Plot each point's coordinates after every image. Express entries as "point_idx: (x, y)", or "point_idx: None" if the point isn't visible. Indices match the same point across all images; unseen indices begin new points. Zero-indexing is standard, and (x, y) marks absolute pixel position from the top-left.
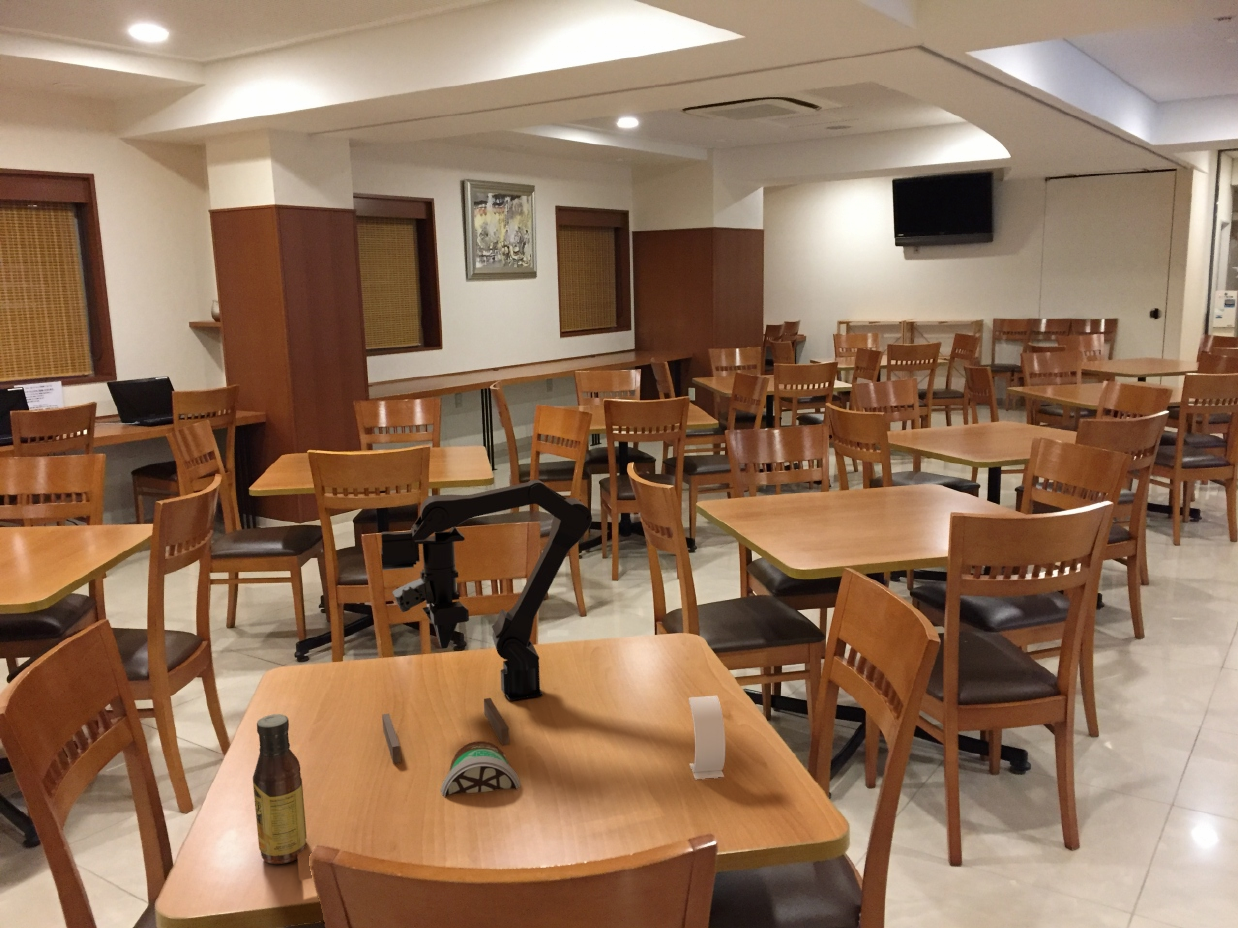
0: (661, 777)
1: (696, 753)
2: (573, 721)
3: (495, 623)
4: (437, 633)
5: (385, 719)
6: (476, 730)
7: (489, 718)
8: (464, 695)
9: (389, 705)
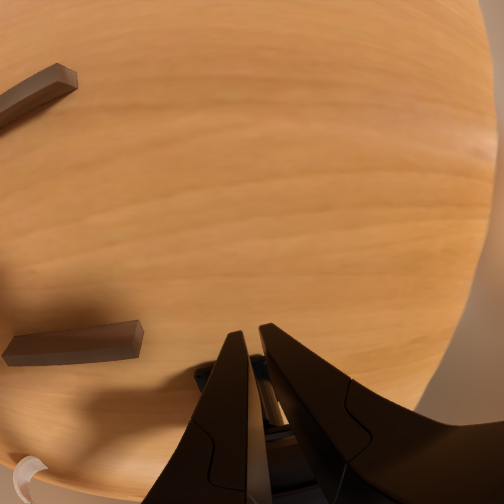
0: (12, 438)
1: (15, 468)
2: (113, 427)
3: (324, 497)
4: (286, 381)
5: (24, 84)
6: (56, 300)
7: (87, 334)
8: (270, 273)
9: (249, 64)
